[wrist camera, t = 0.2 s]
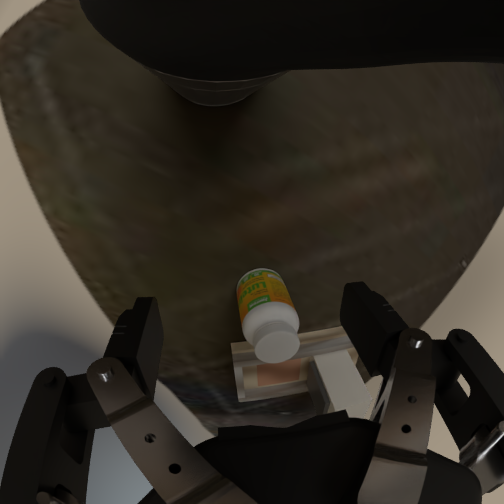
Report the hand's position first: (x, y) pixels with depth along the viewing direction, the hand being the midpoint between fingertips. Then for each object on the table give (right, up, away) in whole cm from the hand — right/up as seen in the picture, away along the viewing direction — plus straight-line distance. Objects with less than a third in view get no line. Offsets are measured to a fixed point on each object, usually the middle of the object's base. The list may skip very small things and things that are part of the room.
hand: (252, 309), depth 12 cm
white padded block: (+10, -13, +26) cm, 31 cm away
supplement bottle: (+1, -2, +21) cm, 21 cm away
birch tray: (+6, -13, +27) cm, 30 cm away
